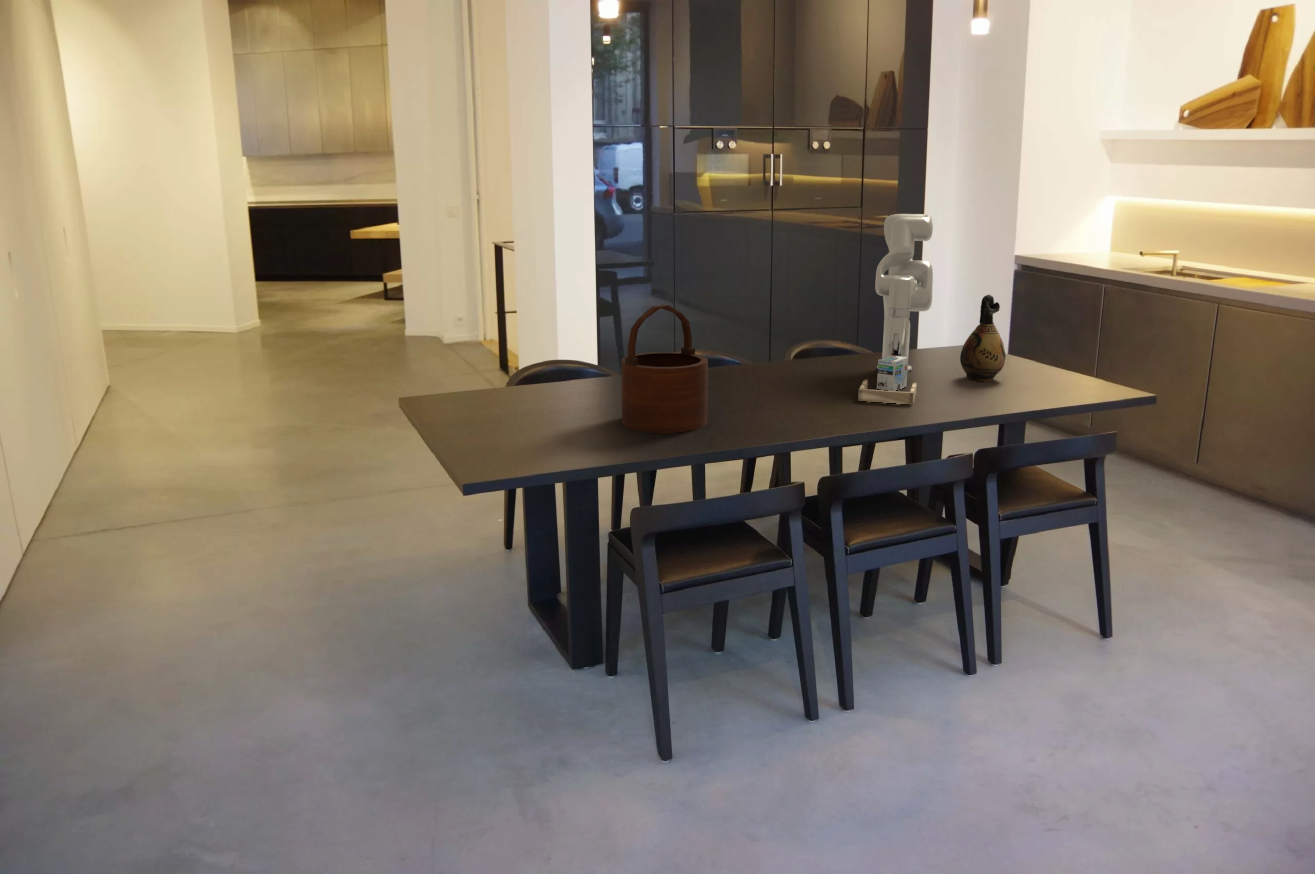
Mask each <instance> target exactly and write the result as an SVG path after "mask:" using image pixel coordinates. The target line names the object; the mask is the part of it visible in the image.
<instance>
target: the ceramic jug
mask: <svg viewBox="0 0 1315 874" xmlns="http://www.w3.org/2000/svg"><path fill="white" fill-rule="evenodd" d="M980 304H981V305H980V312H979V313H980V315H979V324H977V326H976V327H975V328H974V330H973V331H972V332H971V333H970V334H969V336H968V337H967V338H966V339H965V342H964V343H963V346H962V349H961V352H960V357H959V359H960V360H959V361H960V366H961V368H962V370H963V371H964V373H965V375H966V376H965V377H966V379H967V381H971V382H972V381H973V382H976V383H977V382H978V383H985V382H988V383H989V382H993V381H994V379H995V377H996V376H997V375H998V374H999V373H1000V372H1001V371H1002V369H1003V368H1004V366H1005V362H1006V356H1007V355H1006V348H1005V343H1004V341H1003V339H1002V337H1001V335H1000V333H999V331H998V329H997V327H996V326H995V323H994V314H996V313H998V312H999V311H1000V309H1001V306H1000V303H999V302H996V301H995V300H994V296H992V295H991V294H985V296H983V298H982V299H981V303H980Z"/></svg>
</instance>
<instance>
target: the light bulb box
mask: <svg viewBox="0 0 1315 874" xmlns="http://www.w3.org/2000/svg"><path fill="white" fill-rule="evenodd" d="M877 361H878V362H877V366H878V368H877V380H876V381H877V382H876V390H877V389H881V390H888V391H896V390H898V391H900V390H899V389H901V390H903V389H902V388H904V387H906V388H907V383H908V382H907V381H908V372H909V371H908V365H909V356H908V357H902V356H895V355H890V356H887V357H884V358H882V357H881V358H879V359H878V360H877ZM904 389H905V388H904Z"/></svg>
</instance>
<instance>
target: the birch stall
mask: <svg viewBox="0 0 1315 874" xmlns="http://www.w3.org/2000/svg"><path fill="white" fill-rule="evenodd" d="M868 385H869V380H868V379H864V380H863V381H862V383H861V385H860V387H858V388H859V389H858V392H857V393H858V395H857V396H858V397H857V399H858V400H857V401H867V402H866V403H871V402H883V403H882V404H886V403H896V404H895V405H900V404H911V405H910V406H914V403H913V402H914V401H915V400H916V397H915V396H917V388H918V387H917V386H918V383H917V382H912V386H911V388H910V391H900V390H898V391H884V390H877V389H868ZM914 399H915V400H914Z"/></svg>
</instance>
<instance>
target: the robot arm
mask: <svg viewBox="0 0 1315 874" xmlns="http://www.w3.org/2000/svg"><path fill="white" fill-rule="evenodd" d="M933 228H934V225H933V219H932V216H931V215H930V214H925V213H923V214H922V213H914V214H913V213H895V214H891V215H889V216H888V215H887V216H886V218H885V219H884V224H883V229H884V230H883V232H884V239H885V243H886V245H887V248H888V253H887V254H886V255H885V256H883V258H882V259H881V260H880V262H879V263H878V265H877V267H876V271H875V283H874V285H875V292H876V294H877V295H879V296H881V297H882V299H883V309H884V310H883V311H884V313H883V314H884V317H883V319H884V320H883V338H882V339H883V340H882V351H881V352H882V354H881V355H882V357H881V359H882V358H884V357H887V356H890V355H895V356H902V357H908V358H909V353H910V351H909V349H910V336H911V321H910V317H911V316H910V315H911V312H927V311H930V309H931V306H932V303H933V282H934V280H933V279H934V278H933V277H934V273H933V266H932V264H931V262H930V261H928V260H920V259H919V260H918V259H917V260H916V259H915V260H914V259H913V257H914V256H915V255H914V254H915V241H916V242H918V241H919V242H927V241H928V242H929V241H930V240H931V238H932V237H933V236H932V235H933ZM886 271H888V274H885V273H886ZM876 368H877V369H878V365H877V367H876ZM912 369H913V368H912V365H909V364H908V372H910V370H911V371H912Z"/></svg>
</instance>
